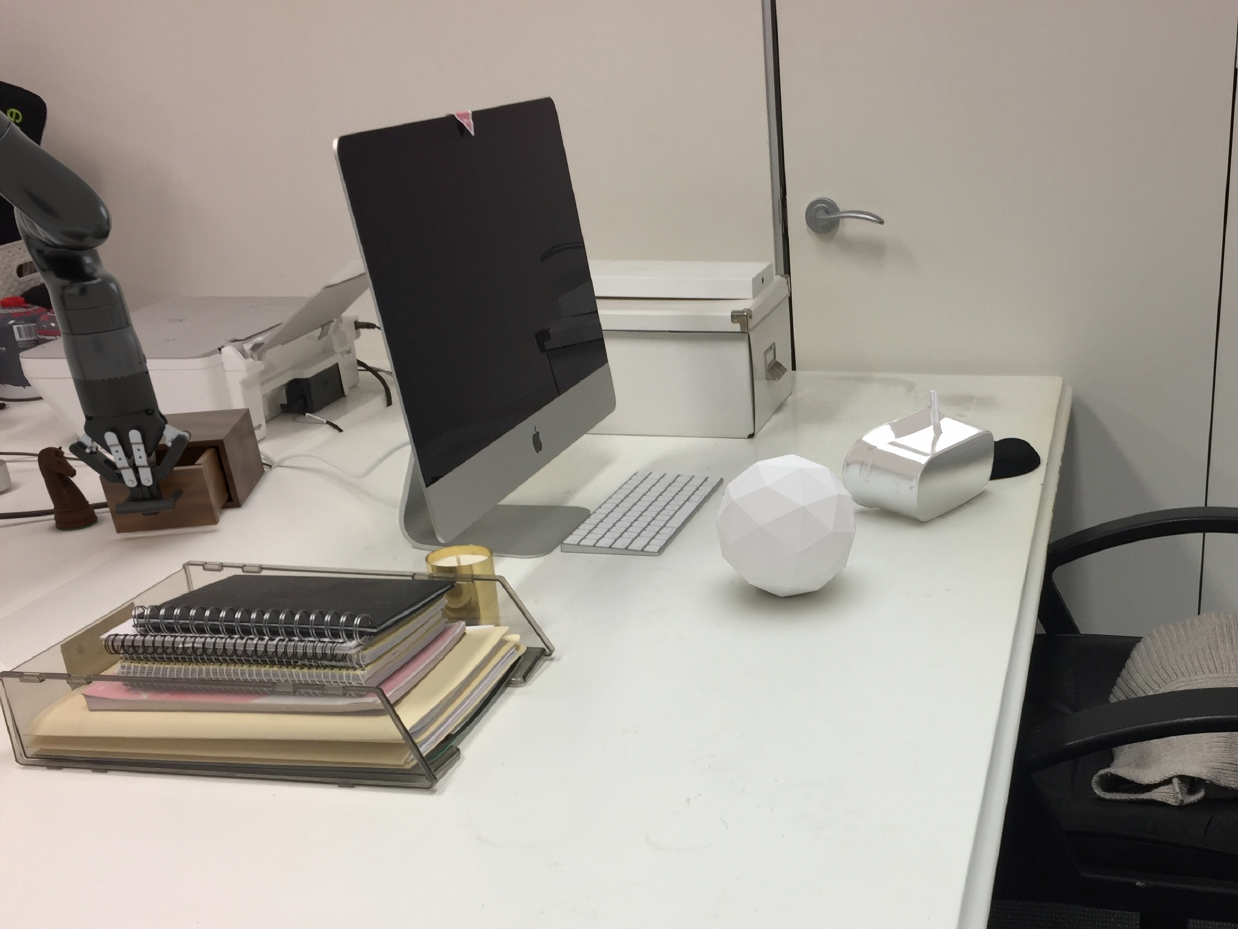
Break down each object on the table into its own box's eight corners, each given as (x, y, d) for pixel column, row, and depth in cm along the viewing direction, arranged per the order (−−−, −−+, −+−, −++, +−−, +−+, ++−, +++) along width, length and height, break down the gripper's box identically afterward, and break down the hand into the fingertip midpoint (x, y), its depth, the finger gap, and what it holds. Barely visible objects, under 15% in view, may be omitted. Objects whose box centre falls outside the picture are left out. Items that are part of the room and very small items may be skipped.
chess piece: (78, 531, 153) (52, 453, 149) (44, 529, 155) (17, 451, 150) (106, 518, 157) (82, 442, 153) (73, 516, 159) (48, 440, 154)
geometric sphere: (821, 619, 138) (899, 510, 134) (772, 629, 124) (858, 507, 120) (725, 541, 140) (799, 432, 137) (666, 543, 126) (748, 421, 122)
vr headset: (927, 473, 166) (927, 365, 159) (999, 489, 159) (1002, 378, 153) (842, 512, 153) (838, 397, 146) (917, 532, 147) (917, 412, 140)
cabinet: (241, 507, 160) (222, 438, 156) (135, 516, 158) (114, 447, 154) (265, 471, 173) (248, 407, 169) (167, 480, 171) (148, 415, 166)
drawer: (206, 540, 147) (190, 481, 144) (102, 550, 145) (83, 490, 142) (242, 488, 164) (228, 435, 160) (149, 497, 162) (133, 442, 158)
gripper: (31, 381, 135) (80, 530, 143) (163, 372, 137) (204, 519, 145) (56, 365, 141) (101, 508, 149) (181, 356, 144) (219, 498, 152)
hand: (152, 513), depth 147 cm, fingers closed
